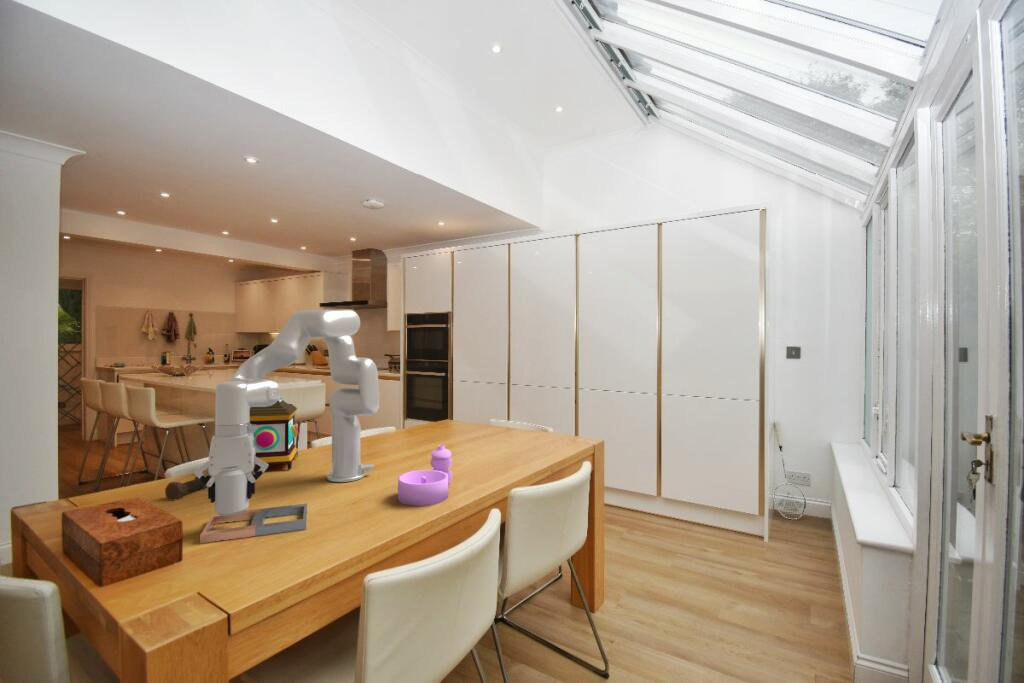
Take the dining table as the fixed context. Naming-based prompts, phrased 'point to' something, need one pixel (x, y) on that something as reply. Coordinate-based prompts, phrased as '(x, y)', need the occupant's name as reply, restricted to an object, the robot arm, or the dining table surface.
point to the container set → (427, 481)
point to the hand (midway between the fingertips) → (232, 498)
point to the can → (231, 492)
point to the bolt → (183, 488)
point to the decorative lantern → (275, 433)
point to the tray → (255, 523)
